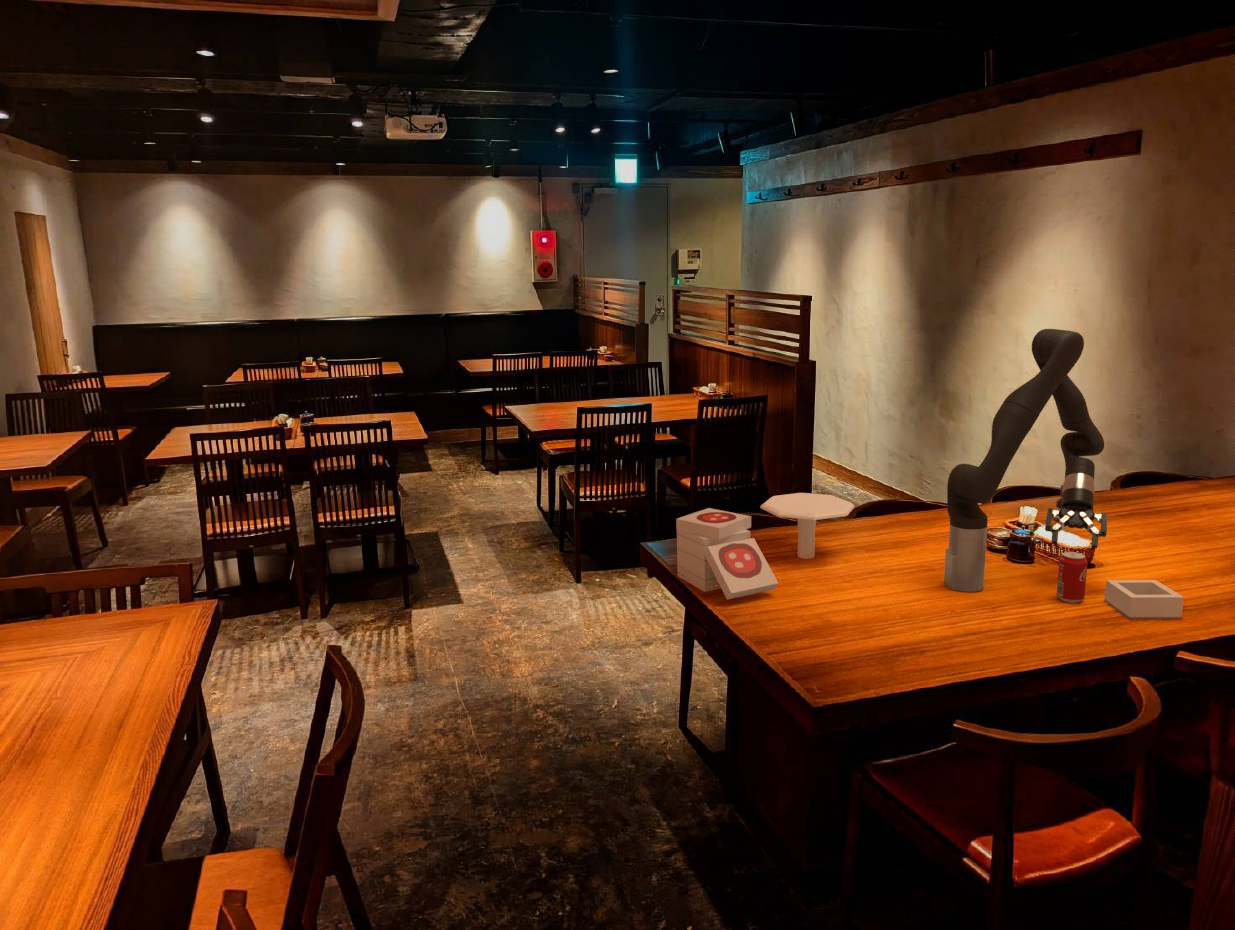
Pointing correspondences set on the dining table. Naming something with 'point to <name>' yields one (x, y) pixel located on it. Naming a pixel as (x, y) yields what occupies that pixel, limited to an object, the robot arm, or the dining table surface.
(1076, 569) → the beverage can
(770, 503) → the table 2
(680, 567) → the pizza boxes
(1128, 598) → the well holder
